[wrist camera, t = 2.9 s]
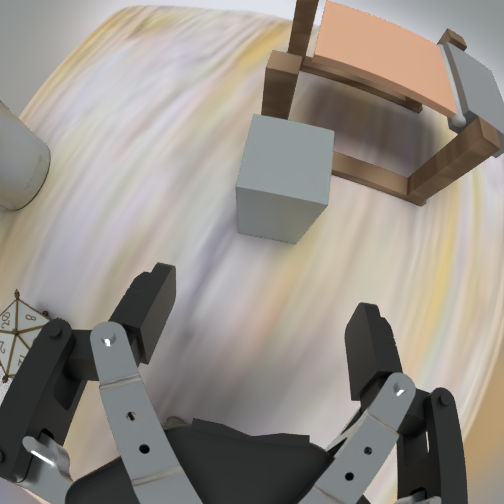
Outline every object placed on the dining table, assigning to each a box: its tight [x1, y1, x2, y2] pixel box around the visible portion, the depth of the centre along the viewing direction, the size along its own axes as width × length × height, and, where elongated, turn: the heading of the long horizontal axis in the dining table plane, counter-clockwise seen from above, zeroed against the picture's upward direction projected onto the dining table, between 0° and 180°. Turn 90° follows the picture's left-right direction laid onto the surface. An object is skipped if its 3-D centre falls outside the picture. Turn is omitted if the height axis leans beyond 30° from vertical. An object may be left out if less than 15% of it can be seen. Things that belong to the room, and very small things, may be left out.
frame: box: [261, 0, 501, 206], centre depth 21 cm, size 18×15×13 cm
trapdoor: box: [312, 0, 504, 158], centre depth 17 cm, size 18×11×3 cm, turn 75°
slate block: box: [236, 114, 334, 244], centre depth 20 cm, size 5×5×10 cm
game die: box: [0, 289, 62, 383], centre depth 18 cm, size 9×8×10 cm
